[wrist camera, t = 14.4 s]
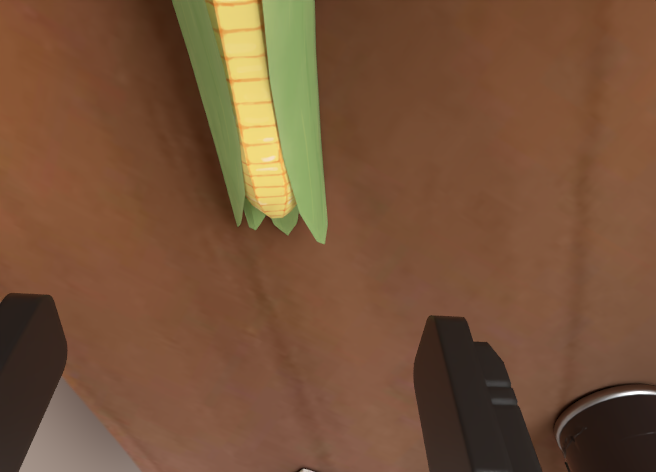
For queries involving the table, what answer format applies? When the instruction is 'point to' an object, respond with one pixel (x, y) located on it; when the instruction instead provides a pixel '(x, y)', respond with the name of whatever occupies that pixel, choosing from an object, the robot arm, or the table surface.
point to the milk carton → (305, 470)
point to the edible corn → (261, 105)
